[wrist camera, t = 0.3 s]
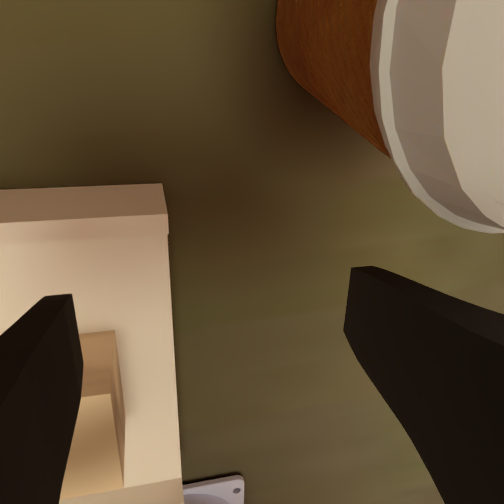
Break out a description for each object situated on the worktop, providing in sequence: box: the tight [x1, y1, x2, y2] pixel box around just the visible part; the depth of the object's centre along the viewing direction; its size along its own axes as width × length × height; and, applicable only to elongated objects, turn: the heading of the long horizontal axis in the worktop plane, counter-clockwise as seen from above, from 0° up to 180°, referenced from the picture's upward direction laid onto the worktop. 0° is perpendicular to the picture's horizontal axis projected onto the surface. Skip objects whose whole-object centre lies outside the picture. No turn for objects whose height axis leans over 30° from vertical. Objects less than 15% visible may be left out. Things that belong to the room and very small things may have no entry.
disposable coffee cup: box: [276, 0, 504, 233], centre depth 14 cm, size 10×10×12 cm
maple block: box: [60, 330, 126, 500], centre depth 18 cm, size 5×5×4 cm
